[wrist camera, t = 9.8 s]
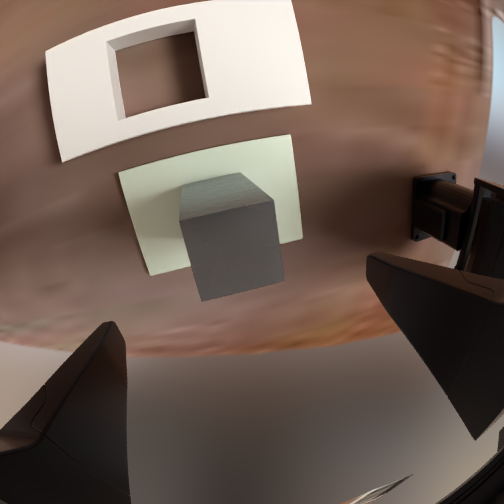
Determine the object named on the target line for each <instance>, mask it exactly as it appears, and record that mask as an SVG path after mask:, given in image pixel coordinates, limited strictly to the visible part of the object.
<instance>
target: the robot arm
mask: <svg viewBox="0 0 504 504" xmlns="http://www.w3.org/2000/svg"><path fill="white" fill-rule="evenodd" d="M418 181H419V183H418ZM474 184H475V185H474V190H471V189H468V188H466V187H463V186H460V185H457V184H456V174H455V173H453V172H447V173H439V174H432V175H425V176H418V177H415V178H414V181H413V213H412V230H411V239H412V240H413V241H415V242H417V241H420V240H423V239H426V238H429V237H433V238H435V239H437V240H438V241H440V242H443V243H445V244H446V245H448V246H450V247H451V248H453V249H455V250H456V251H460V254H459V257H458V261H457V264H456V266H455V268H454V269H451V268H447V267H443V266H439V265H434V264H430V263H426V262H421V261H417V260H413V259H408V258H404V257H399V256H394V255H390V254H385V253H381V252H375V253H372V254H369V255H368V256H367V261H366V278H367V281H368V282H369V284H370V285H371V287H372V289H373V290H374V292H375V293H376V295H377V297H378V298H379V300H380V302H381V303H382V305H383V306H384V308H385V309H386V311H387V312H388V314H389V315H390V316H391V318H392V319H393V320H394V322H395V323H396V324H397V326H398V327H399V328H400V330H401V331H402V332H403V334H404V335H405V336H406V338H407V339H408V340H409V342H410V343H411V345H412V346H413V347H414V349H415V350H416V351H417V353H418V354H419V356H420V357H421V358H422V360H423V361H424V363H425V364H426V365H427V367H428V368H429V370H430V371H431V373H432V374H433V376H434V377H435V378H436V380H437V381H438V383H439V384H440V386H441V388H442V389H443V391H444V392H445V394H446V395H447V396H448V399H449V400H450V402H451V403H452V405H453V406H454V408H455V409H456V411H457V413H458V414H459V416H460V417H461V419H462V421H463V422H464V424H465V426H466V427H467V429H468V431H469V432H470V434H471V436H472V437H473V438H474V440H477V439H478V438H479V437H480V436H481V435H482V434H484V433H485V432H486V431H487V430H488V429H489V428H490V427H491V426H492V425H493V424H494V423H495V422H496V421H497V420H498V419H499V418H500V417H501V416H502V415H503V414H504V185H501V184H498V183H495V182H491V181H487V180H483V179H479V178H475V179H474ZM415 236H416V237H415ZM129 495H130V489H129V477H128V460H127V366H126V345H125V340H124V338H123V336H122V334H121V333H120V331H119V329H118V327H117V325H116V323H115V322H113V321H109V322H104V323H102V324H101V325H100V326H99V327H98V328H97V329H96V330H95V331H94V332H93V333H92V334H91V335H90V336H89V337H88V338H87V339H86V340H85V341H84V342H83V343H82V344H81V345H80V346H79V347H78V348H77V349H76V350H75V352H74V353H73V354H72V355H71V356H70V357H69V358H68V359H67V360H66V361H65V362H64V363H63V364H62V365H61V366H60V367H59V368H58V370H57V371H56V372H55V373H54V374H53V375H52V376H51V377H50V378H49V379H48V380H47V382H46V383H45V385H43V386H42V387H41V388H40V389H39V391H38V392H37V393H36V394H35V395H34V396H33V397H32V398H31V399H30V400H29V401H28V402H27V403H26V404H25V406H23V407H22V408H21V410H20V411H18V412H17V413H16V414H15V415H14V416H13V417H12V419H10V420H9V422H7V423H6V424H5V425H4V427H3V428H2V429H1V430H0V504H131V498H130V496H129ZM436 504H504V427H503V428H502V429H501V430H500V432H499V441H498V450H497V453H496V454H495V455H494V456H493V457H492V458H491V459H490V460H489V461H488V462H487V463H486V464H485V465H484V466H482V467H481V468H480V469H479V470H478V471H477V472H476V473H474V474H473V475H472V476H471V477H470V478H469V479H467V480H466V481H465V482H464V483H462V484H461V485H460V486H459V487H458V488H456V489H455V490H454V491H452V492H451V493H450V494H448V495H447V496H445V497H444V498H443V499H441V500H440V501H438V502H437V503H436Z"/></svg>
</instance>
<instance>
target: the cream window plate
mask: <svg viewBox="0 0 504 504" xmlns="http://www.w3.org/2000/svg"><path fill="white" fill-rule="evenodd" d="M193 31H194V35H195V41H196V47H197V52H198V58H199V64H200V69H201V75H202V80H203V86H204V92H205V97H206V98H203V99H198V100H194V101H189V102H184V103H180V104H176V105H172V106H167V107H164V108H160V109H156V110H152V111H149V112H145V113H141V114H138V115H135V116H131V117H128V118H126V116H125V111H124V105H123V100H122V94H121V88H120V82H119V75H118V69H117V61H116V54H115V51H117V50H120V49H123V48H127V47H130V46H133V45H137V44H140V43H144V42H147V41H151V40H155V39H159V38H163V37H168V36H172V35H177V34H182V33H187V32H193ZM46 66H47V77H48V87H49V95H50V102H51V109H52V115H53V121H54V126H55V132H56V137H57V142H58V146H59V151H60V155H61V159H62V162H65V161H68V160H71V159H74V158H77V157H80V156H82V155H85V154H88V153H90V152H93V151H96V150H99V149H101V148H104V147H107V146H110V145H113V144H116V143H119V142H122V141H125V140H129V139H132V138H135V137H139V136H142V135H145V134H149V133H153V132H156V131H160V130H164V129H168V128H172V127H176V126H180V125H184V124H189V123H193V122H198V121H202V120H207V119H212V118H217V117H223V116H228V115H234V114H240V113H247V112H253V111H260V110H268V109H276V108H286V107H296V106H302V105H309V104H311V98H310V92H309V86H308V80H307V74H306V68H305V63H304V58H303V52H302V47H301V42H300V38H299V33H298V28H297V24H296V19H295V15H294V11H293V7H292V3H291V0H213V1H205V2H198V3H191V4H185V5H180V6H175V7H170V8H165V9H160V10H156V11H152V12H148V13H144V14H140V15H137V16H133V17H130V18H127V19H123V20H120V21H117V22H114V23H111V24H108V25H105V26H102V27H100V28H97V29H94V30H92V31H89V32H87V33H84V34H82V35H80V36H77V37H75V38H73V39H70V40H68V41H66V42H64V43H62V44H59V45H57V46H55V47H53V48H51V49H49V50H47V51H46Z"/></svg>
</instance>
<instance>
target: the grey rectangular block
mask: <svg viewBox="0 0 504 504" xmlns="http://www.w3.org/2000/svg"><path fill="white" fill-rule="evenodd" d="M179 223H180V227H181V231H182V235H183V239H184V242H185V246H186V250H187V253H188V257H189V260H190V264H191V267H192V271H193V274H194V278H195V281H196V284H197V288H198V291H199V294H200V298H201V301H202V302H203V301H207V300H211V299H215V298H219V297H223V296H227V295H232V294H236V293H240V292H244V291H248V290H252V289H255V288H259V287H263V286H267V285H271V284H275V283H279V282H282V281H284V274H283V266H282V258H281V250H280V242H279V234H278V226H277V219H276V211H275V204H274V199H272V198H271V197H270V196H269V195H268V194H266V193H265V192H264V191H263V190H261V189H260V188H259V187H258V186H257V185H255V184H254V183H253V182H252V181H251V180H249V179H248V178H247V177H246V176H244V175H243V174H242V173H241V172H238V173H233V174H229V175H224V176H219V177H214V178H210V179H205V180H201V181H197V182H192V183H188V184H184V185H182V192H181V202H180V214H179Z"/></svg>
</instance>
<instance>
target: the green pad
mask: <svg viewBox="0 0 504 504" xmlns="http://www.w3.org/2000/svg"><path fill="white" fill-rule="evenodd" d="M238 172H241V173H242V174H243V175H244V176H246V177H247V178H248V179H249V180H251V181H252V182H253V183H254V184H255V185H257V186H258V187H259V188H260V189H261V190H263V191H264V192H265V193H266V194H268V195H269V196H270V197H271V198H272V199H274V204H275V211H276V219H277V226H278V234H279V242H280V244H283V243H287V242H291V241H295V240H299V239H303V234H302V224H301V214H300V205H299V196H298V187H297V179H296V171H295V163H294V155H293V148H292V141H291V135H289V134H288V135H281V136H274V137H267V138H261V139H255V140H249V141H243V142H238V143H232V144H227V145H222V146H217V147H213V148H208V149H203V150H199V151H194V152H190V153H186V154H182V155H178V156H174V157H170V158H166V159H162V160H158V161H155V162H151V163H148V164H144V165H141V166H137V167H134V168H130V169H127V170H124V171H121V172H119V173H118V174H119V177H120V181H121V185H122V189H123V192H124V196H125V199H126V203H127V206H128V210H129V213H130V216H131V220H132V223H133V226H134V229H135V232H136V236H137V239H138V242H139V245H140V248H141V251H142V254H143V256H144V259H145V262H146V265H147V268H148V271H149V273H150V276H152V275H156V274H160V273H164V272H169V271H173V270H177V269H181V268H185V267H189V266H191V264H190V260H189V257H188V253H187V250H186V246H185V242H184V239H183V235H182V231H181V227H180V223H179V214H180V202H181V192H182V185H184V184H188V183H192V182H197V181H201V180H205V179H210V178H214V177H219V176H224V175H229V174H233V173H238Z"/></svg>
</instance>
